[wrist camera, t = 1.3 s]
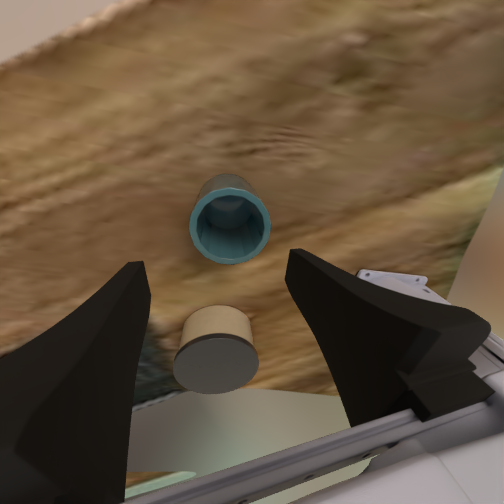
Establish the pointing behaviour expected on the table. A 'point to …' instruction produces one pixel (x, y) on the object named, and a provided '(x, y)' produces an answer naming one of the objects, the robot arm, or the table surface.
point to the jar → (216, 351)
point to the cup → (229, 220)
